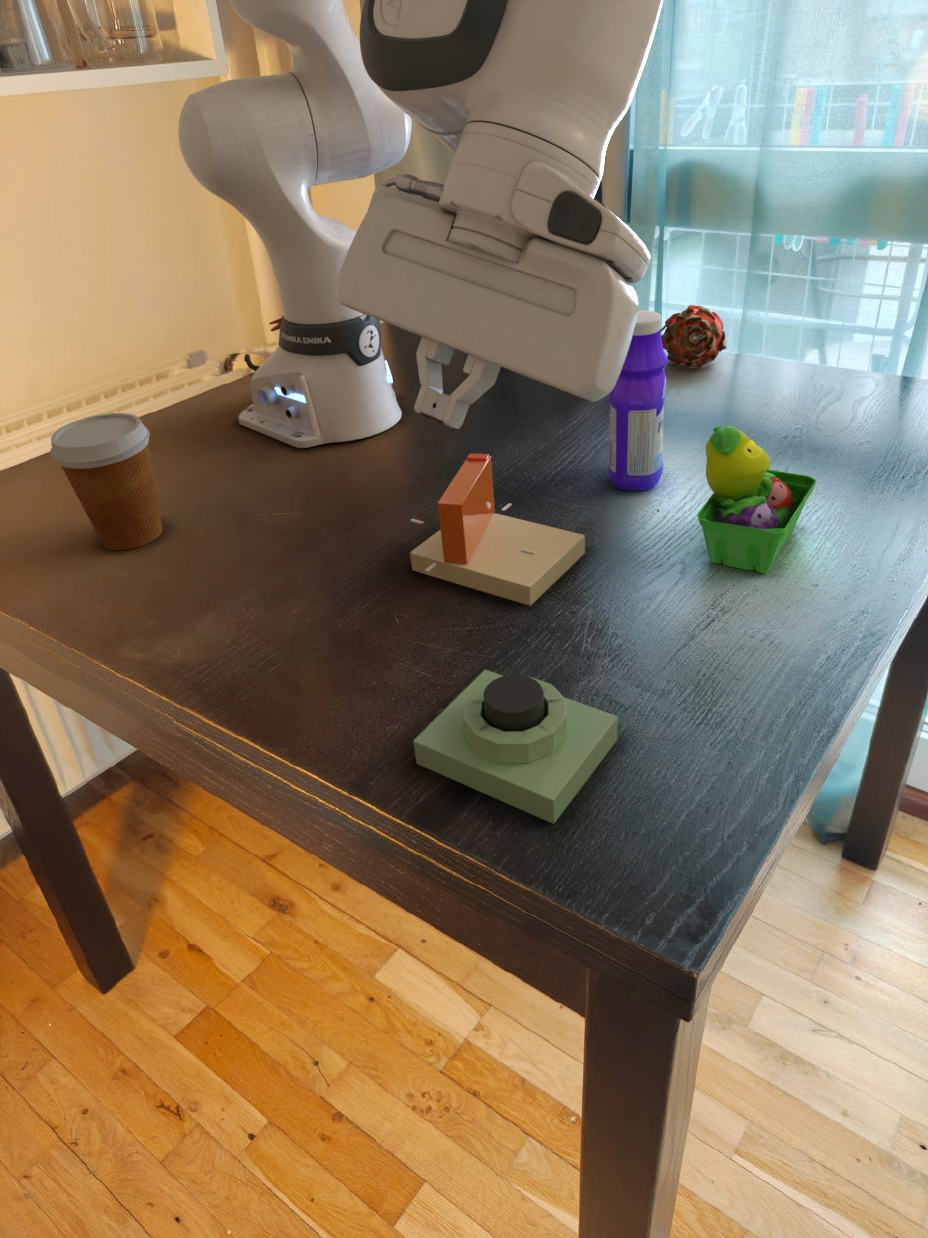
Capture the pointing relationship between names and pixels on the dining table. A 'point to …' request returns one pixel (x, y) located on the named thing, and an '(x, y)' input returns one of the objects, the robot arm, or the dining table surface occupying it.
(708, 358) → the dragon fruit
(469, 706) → the button box
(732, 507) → the fruit basket
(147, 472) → the disposable coffee cup
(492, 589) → the beige rectangular board
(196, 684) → the dining table surface
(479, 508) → the orange block
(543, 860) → the dining table surface
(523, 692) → the button
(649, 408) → the bottle
